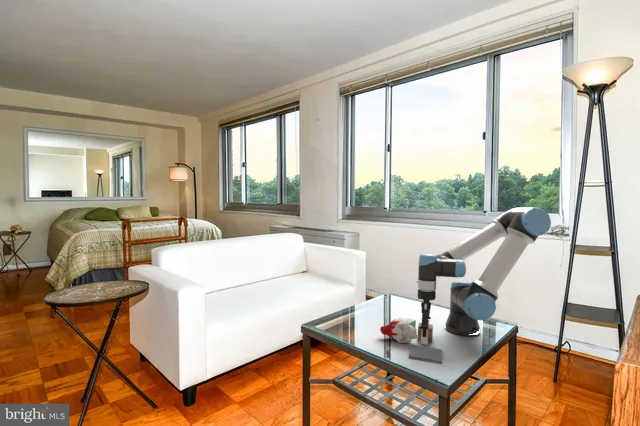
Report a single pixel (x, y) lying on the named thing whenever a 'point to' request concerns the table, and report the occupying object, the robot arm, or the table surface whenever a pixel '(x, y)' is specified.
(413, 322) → the teal block
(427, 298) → the robot arm
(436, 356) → the mat
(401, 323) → the white two-tone toothed figurine
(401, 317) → the cream capsule cylinder
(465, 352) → the table surface
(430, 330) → the walnut cube
